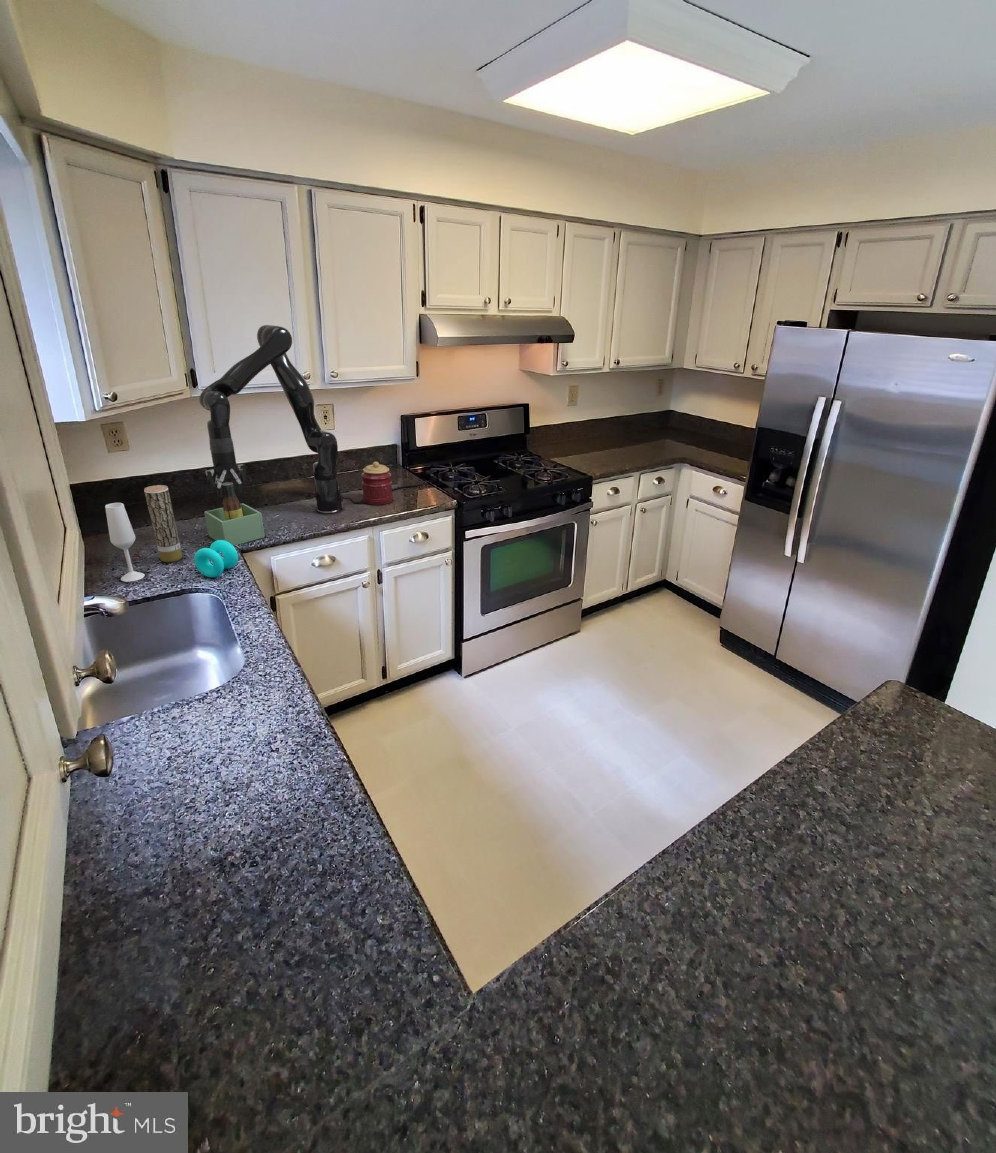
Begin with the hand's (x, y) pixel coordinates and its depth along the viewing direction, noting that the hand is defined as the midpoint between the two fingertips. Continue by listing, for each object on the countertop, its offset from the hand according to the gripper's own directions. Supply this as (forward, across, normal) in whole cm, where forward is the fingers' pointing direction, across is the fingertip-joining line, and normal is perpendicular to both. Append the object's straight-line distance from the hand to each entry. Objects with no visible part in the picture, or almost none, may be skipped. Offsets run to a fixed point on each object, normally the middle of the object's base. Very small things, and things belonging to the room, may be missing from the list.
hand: (230, 495), depth 215 cm
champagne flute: (+16, -39, -11) cm, 44 cm away
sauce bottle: (+16, 0, 0) cm, 16 cm away
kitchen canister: (+16, +64, 0) cm, 66 cm away
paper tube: (+16, -25, -5) cm, 30 cm away
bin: (+16, 0, 0) cm, 16 cm away
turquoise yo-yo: (+16, -18, -26) cm, 35 cm away
